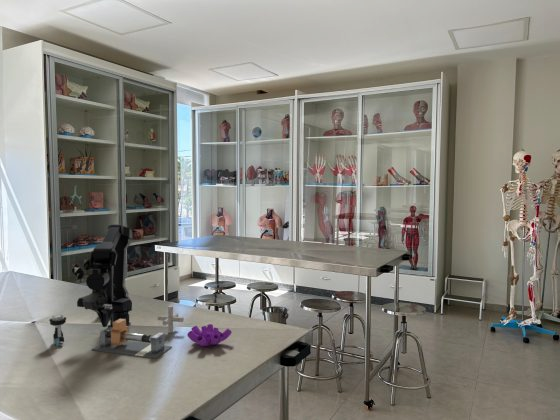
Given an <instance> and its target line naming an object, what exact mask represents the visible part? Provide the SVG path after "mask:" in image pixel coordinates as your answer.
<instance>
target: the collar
mask: <svg viewBox="0 0 560 420" xmlns="http://www.w3.org/2000/svg"><path fill="white" fill-rule="evenodd" d="M121 332H126V333H129V325H128V326H126V319H118V320H116V321H114V322H113V329H112V330H111V345H116V346H119V345H121V344H123V343H125V342H126V341H129V340H123V339H120V333H121Z"/></svg>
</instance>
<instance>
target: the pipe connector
mask: <svg viewBox="0 0 560 420" xmlns="http://www.w3.org/2000/svg"><path fill="white" fill-rule="evenodd" d="M167 307H168V309H167V311H168V312H167V315H157V321H162V325H163V326H167V325H168V327H167V329H168V330H167V331H168V333H173V332H174V322H175V323H176V322H177V323H183V322H184V320H185V318H184V317H183V316H179V313H178V312H175V313H174V306H173V305H168V306H167Z"/></svg>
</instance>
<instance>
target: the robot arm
mask: <svg viewBox="0 0 560 420" xmlns="http://www.w3.org/2000/svg"><path fill="white" fill-rule="evenodd" d="M132 239H133V230H132V229H131V228H130V227H127V226H124V225H123V224H120V223H119V224H118V223H117V224H113V223H111V224H109V225H108V226H107V232H106V234H105V236H104V237H103V239H102V242H100V243H98V244H97V245H95V246H94V248H93V250H92V251H91V252H90V258H89V264H88V267H87V268H88V270H91V271H92V272H91V273H90V274H89V275H88V276H87V278H86V281H85V282H86V286H87V287H88V289H90V290H92V291H91V293H89V294H87V295H84V296H81V297H78V300H77V301H76V307H79V308H84V309H85V310H91V311H92V312H95V313H96V315H97V316H98V319H99V321H100V323H101V326H102V327H103V328H108V327H113V322H114V321H116V320H118V319H126V326H128V327H129V326H130V325H131V324H132V322H130V313H129V312H131V311H133V301H132V300H131V298H130V296H129V291H128V289H127V288H126V285H125V284H126V281H125V279H126V265H127V264H126V262H127V261H126V260H127V259H126V258H127V254H126V253H127V249H128V248H129V246H130V245H131V243H132V241H131V240H132ZM109 323H110V324H109Z"/></svg>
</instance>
